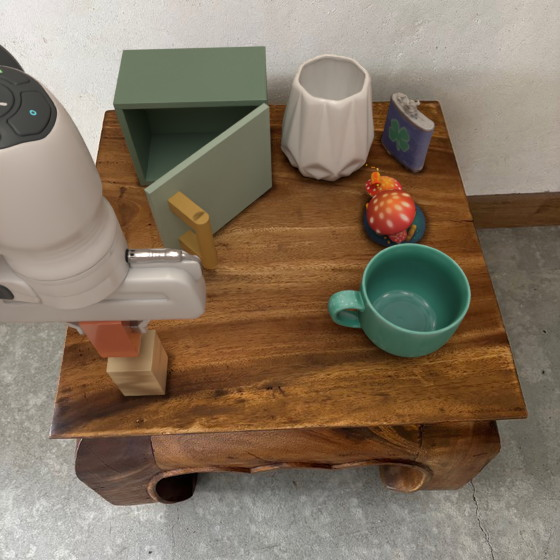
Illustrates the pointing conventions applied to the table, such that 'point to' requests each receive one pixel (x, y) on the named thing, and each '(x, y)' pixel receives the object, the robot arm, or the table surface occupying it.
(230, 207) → the door
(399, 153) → the flask
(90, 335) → the block
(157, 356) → the stand
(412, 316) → the mug
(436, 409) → the table surface
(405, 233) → the figurine
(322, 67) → the vase
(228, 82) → the cupboard
